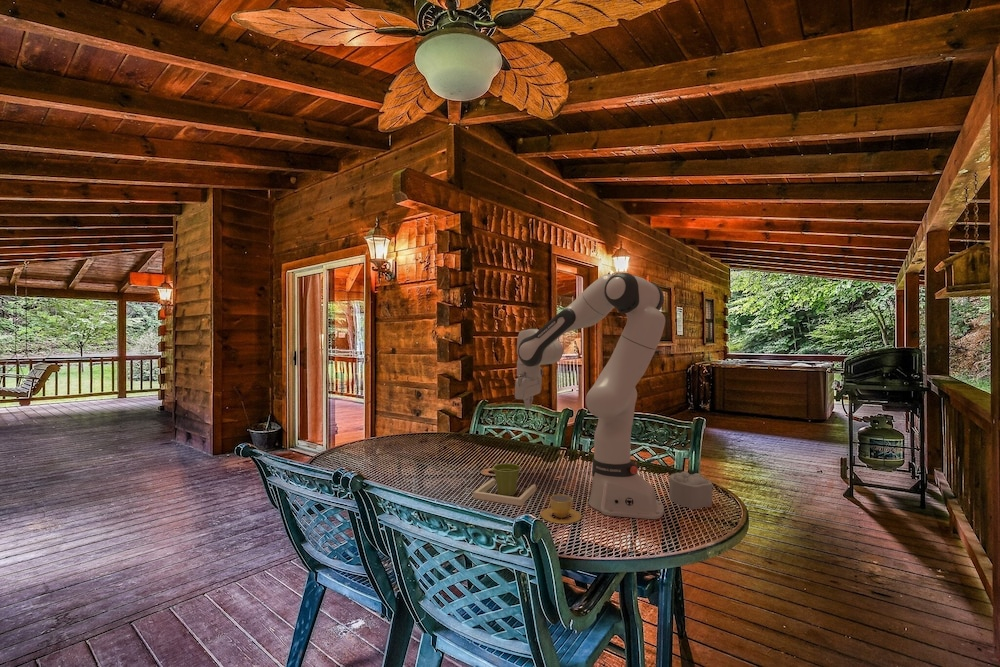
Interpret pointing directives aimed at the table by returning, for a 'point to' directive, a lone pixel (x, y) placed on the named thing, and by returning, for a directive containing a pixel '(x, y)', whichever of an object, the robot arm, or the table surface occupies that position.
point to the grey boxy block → (690, 490)
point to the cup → (560, 510)
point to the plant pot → (506, 478)
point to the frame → (501, 498)
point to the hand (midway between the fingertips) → (528, 408)
